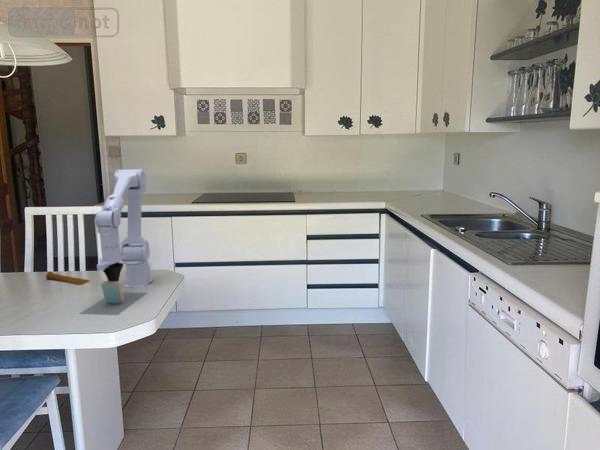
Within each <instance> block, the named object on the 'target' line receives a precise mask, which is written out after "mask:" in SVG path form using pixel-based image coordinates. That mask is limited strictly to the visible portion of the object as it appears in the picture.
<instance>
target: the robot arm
mask: <svg viewBox="0 0 600 450" xmlns="http://www.w3.org/2000/svg"><path fill="white" fill-rule="evenodd" d="M113 178H114V183H115V186H114V189H113V192H112V194H109V195H108V196H107V198H106V200H105V202H104V205H103V207H102V209H101V210H99V211H98V212H96V214H95V217H94V223H95V224H94V225H95V226H96V229H97V233H98V234H99V239H100V240H99V241H100V249H101V251H100V252H101V258H100V259H98V261H99V263H97V264H96V269H97V270H96V271H98V272H99V271H103V273H104V275H105V276H106V278H107V281H120V274H121V271H122V269H123V268H124V264H125V272H126V273H125V275H126V283H125V284H123V285H122V287H123V288H144V287H146V286H147V285H149V284H150V283H152V282H154V279H153V278H152V276H151V265H150V262H149V258H150V255H151V250H150V244H149V241H148V240H147V239H146V238H144V237H143V236H142V195H143V193H145V192H146V188H147V177H146V174H145V171H144V170H143V169H142V168H138V169H134V168H133V169H120V168H119V169H116V170H115V172H114V176H113ZM126 195H127V236H126V237H125V238H124V239H123V240H122V241H121V242H120V233H119V226H120V225H121V218H122V211H123V208H124V206H125V199H124V197H125V196H126Z"/></svg>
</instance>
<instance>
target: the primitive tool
mask: <svg viewBox="0 0 600 450" xmlns="http://www.w3.org/2000/svg"><path fill="white" fill-rule="evenodd" d="M45 279H46V280H47V281H51V280H53V281H58V282H62V283H67V284H73V285H76V286H82V285H85V284H87V283H90V282H91V280H90V279H89V280H88V279H86V278H85V279H84V278H77V277H72V276H68V275H67V276H66V275H62V274H57V273H54V272H52V271H48V272H47V273H46V276H45Z"/></svg>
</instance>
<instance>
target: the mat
mask: <svg viewBox="0 0 600 450" xmlns="http://www.w3.org/2000/svg"><path fill="white" fill-rule="evenodd" d="M122 292H123V296H124V300H125V302H124V303H123V304H118V303H106V301H105V297H104V298H102V299H100V300H99V301H96V302H95V303H94V304H92V305H91V306H89V307H87V308H86V309H84V310H82V312H80V313H79V314H80V315H98V316H99V315H101V316H102V315H105V316H106V315H107V316H119V315H120V314H121V313H122V312H124V311H125V310H127V309H128V308H129V307H131V306H132V305H133V304H134V305H135V304H136V302H138V301H139V300H140V299H142V298H143V297H144V296H146V295H148V292H130V291H129V292H127V291H122Z"/></svg>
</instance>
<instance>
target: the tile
mask: <svg viewBox="0 0 600 450" xmlns="http://www.w3.org/2000/svg"><path fill="white" fill-rule="evenodd" d="M100 286H101V290H102V294H103V296H104V298H105V301H106V303H118V304H123V303H124V302H125V300H124V296H123V292H124V291H123V289H122V285H121V282H120V280H119V281H108V280H102V281H101V282H100Z"/></svg>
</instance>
